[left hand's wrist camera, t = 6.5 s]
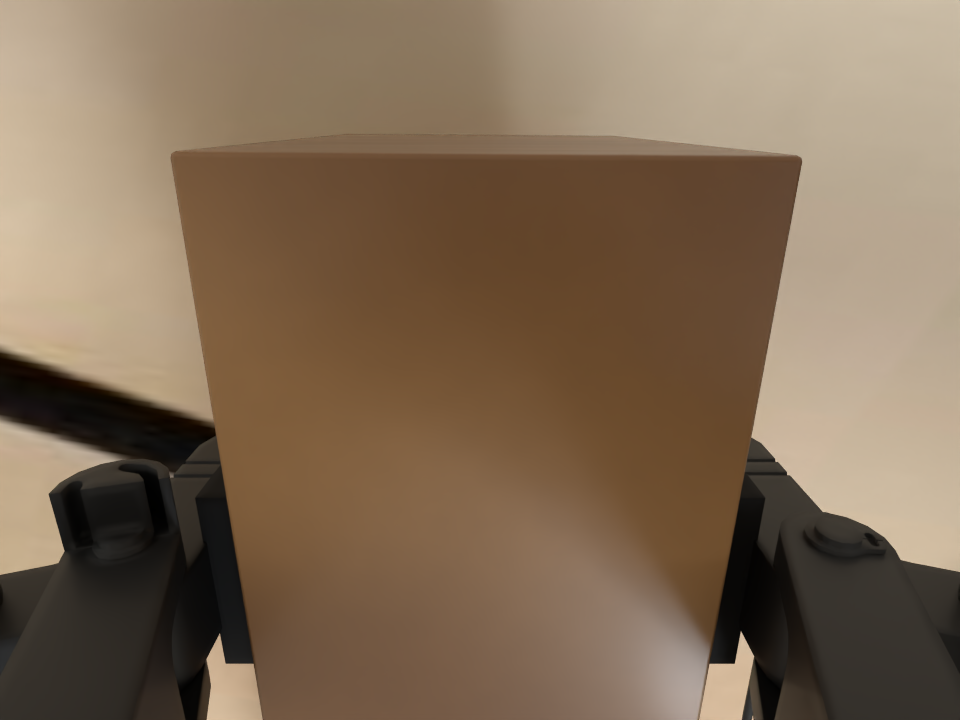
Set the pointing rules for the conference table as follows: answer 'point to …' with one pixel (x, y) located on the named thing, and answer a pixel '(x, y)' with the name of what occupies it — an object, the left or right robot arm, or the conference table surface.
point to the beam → (483, 412)
